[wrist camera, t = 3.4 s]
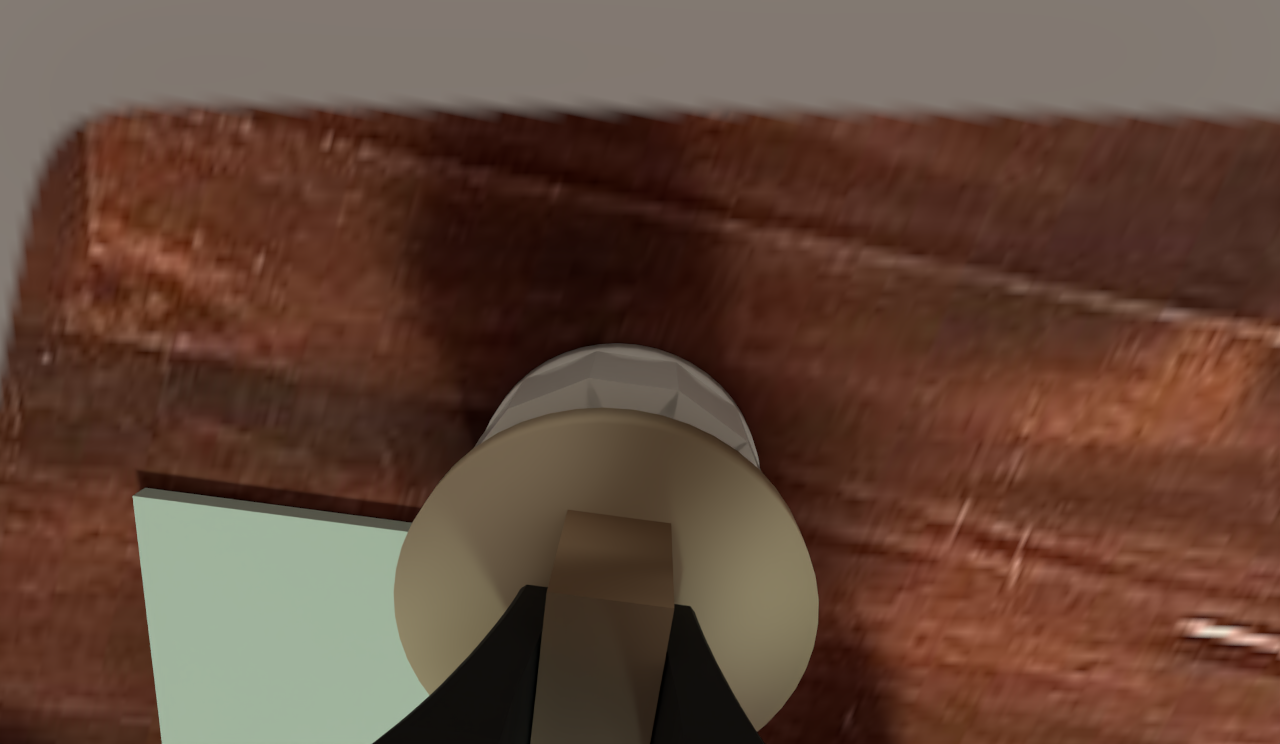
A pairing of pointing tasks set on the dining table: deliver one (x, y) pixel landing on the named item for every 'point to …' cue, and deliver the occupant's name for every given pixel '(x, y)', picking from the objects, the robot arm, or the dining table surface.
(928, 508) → the dining table surface
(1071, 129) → the dining table surface
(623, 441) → the lid
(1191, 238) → the dining table surface
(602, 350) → the bowl
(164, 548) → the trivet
